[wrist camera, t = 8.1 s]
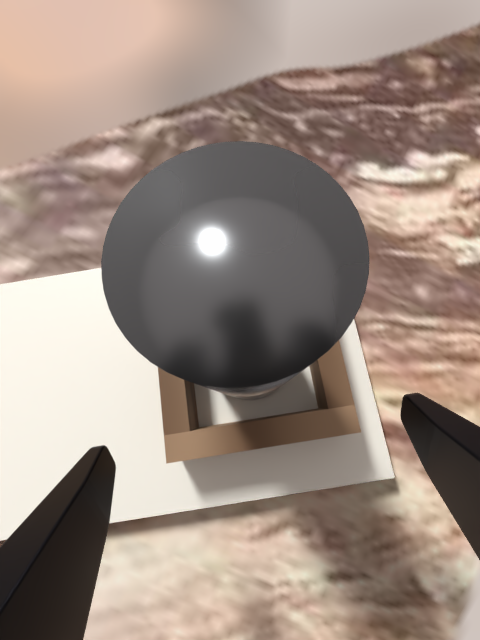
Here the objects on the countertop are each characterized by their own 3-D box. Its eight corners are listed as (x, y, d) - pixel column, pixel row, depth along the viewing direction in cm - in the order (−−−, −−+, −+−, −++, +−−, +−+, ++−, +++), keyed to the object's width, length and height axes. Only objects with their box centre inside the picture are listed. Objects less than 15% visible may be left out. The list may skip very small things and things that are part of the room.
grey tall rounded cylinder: (305, 363, 18) (427, 260, 5) (245, 417, 17) (215, 453, 4) (252, 306, 19) (245, 101, 6) (193, 355, 18) (51, 243, 5)
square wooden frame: (310, 273, 19) (318, 254, 17) (345, 428, 17) (361, 432, 14) (163, 297, 19) (150, 281, 17) (179, 454, 17) (166, 463, 14)
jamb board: (327, 238, 21) (331, 230, 20) (386, 473, 17) (394, 477, 16) (-25, 296, 21) (-39, 290, 20) (-41, 541, 17) (-58, 549, 16)
